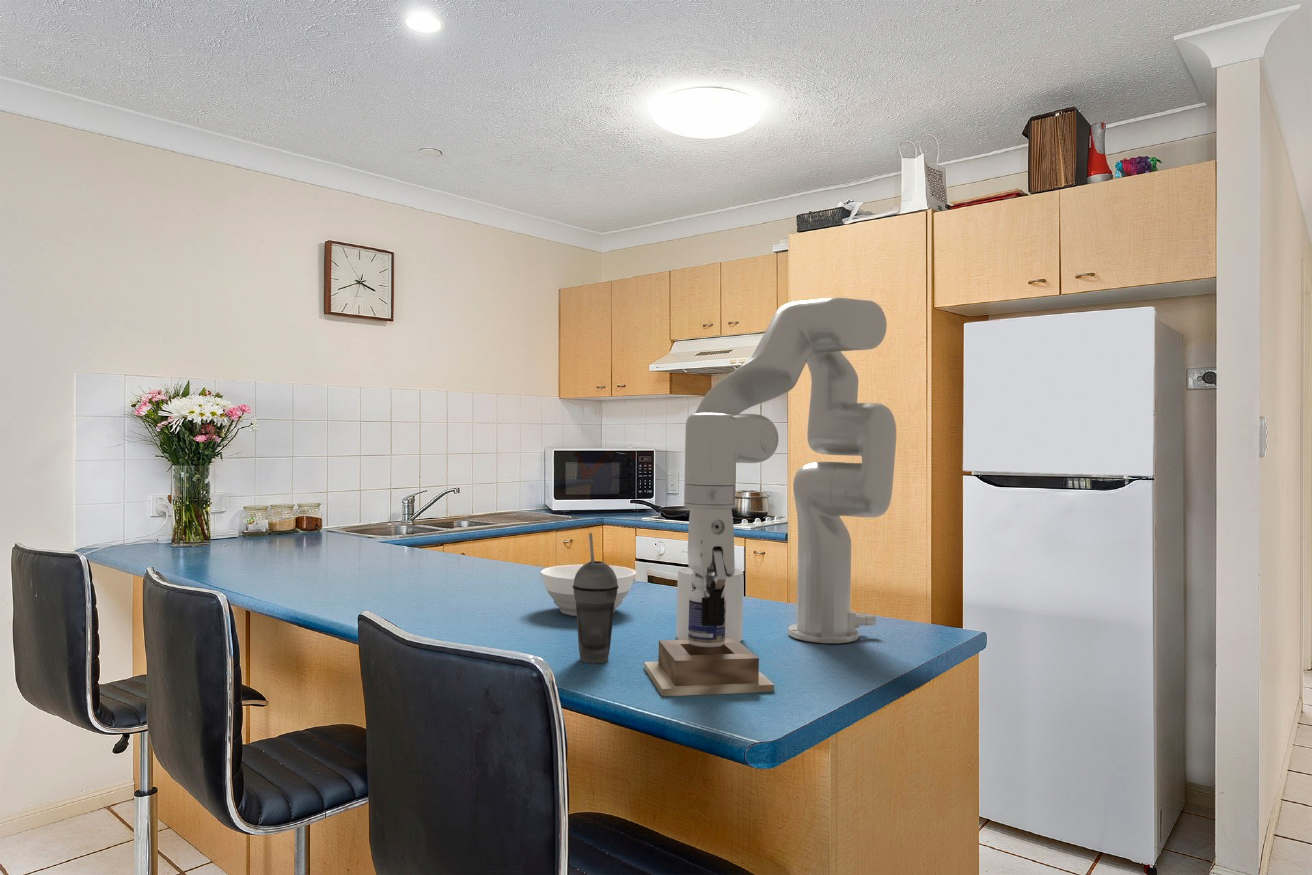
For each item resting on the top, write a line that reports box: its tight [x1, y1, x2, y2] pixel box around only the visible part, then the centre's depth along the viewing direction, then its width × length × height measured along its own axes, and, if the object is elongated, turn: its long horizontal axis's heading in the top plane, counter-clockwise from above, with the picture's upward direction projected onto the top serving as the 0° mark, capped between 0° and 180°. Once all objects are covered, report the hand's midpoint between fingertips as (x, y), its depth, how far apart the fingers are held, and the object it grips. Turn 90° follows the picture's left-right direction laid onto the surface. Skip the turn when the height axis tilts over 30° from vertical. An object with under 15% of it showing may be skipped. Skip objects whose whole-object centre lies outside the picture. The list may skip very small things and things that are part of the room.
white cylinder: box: [676, 566, 744, 643], centre depth 146 cm, size 12×12×12 cm
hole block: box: [643, 638, 775, 697], centre depth 120 cm, size 16×14×4 cm
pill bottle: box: [688, 575, 726, 647], centre depth 120 cm, size 5×5×10 cm
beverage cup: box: [573, 532, 618, 664], centre depth 130 cm, size 7×7×20 cm
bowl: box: [540, 563, 637, 617], centre depth 167 cm, size 19×19×8 cm
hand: (707, 619), depth 120 cm, fingers closed on pill bottle, 5 cm apart
